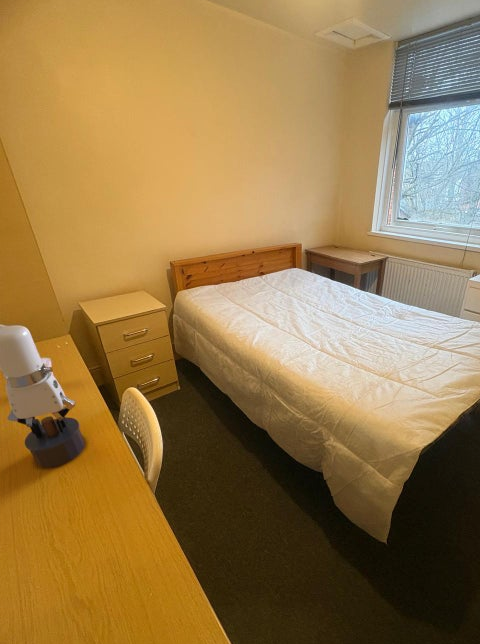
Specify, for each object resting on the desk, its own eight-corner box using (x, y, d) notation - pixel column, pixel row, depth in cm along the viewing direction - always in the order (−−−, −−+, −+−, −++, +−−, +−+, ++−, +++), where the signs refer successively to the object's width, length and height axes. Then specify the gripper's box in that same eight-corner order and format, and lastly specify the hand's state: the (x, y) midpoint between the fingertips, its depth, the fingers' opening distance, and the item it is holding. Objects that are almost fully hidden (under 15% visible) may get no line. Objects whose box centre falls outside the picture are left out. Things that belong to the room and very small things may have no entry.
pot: (30, 473, 83) (21, 455, 80) (42, 443, 92) (34, 425, 89) (81, 460, 86) (73, 442, 84) (87, 432, 96) (81, 415, 93)
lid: (19, 458, 79) (10, 442, 77) (33, 427, 89) (26, 411, 87) (75, 445, 84) (69, 428, 81) (83, 416, 93) (77, 400, 91)
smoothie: (46, 391, 113) (31, 357, 106) (33, 387, 115) (18, 354, 108) (63, 381, 118) (50, 348, 111) (51, 378, 120) (38, 345, 113)
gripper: (70, 361, 83) (90, 415, 92) (-12, 374, 77) (18, 430, 86) (64, 376, 77) (86, 432, 86) (-25, 392, 71) (8, 451, 80)
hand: (52, 431), depth 86 cm, fingers open, 4 cm apart
